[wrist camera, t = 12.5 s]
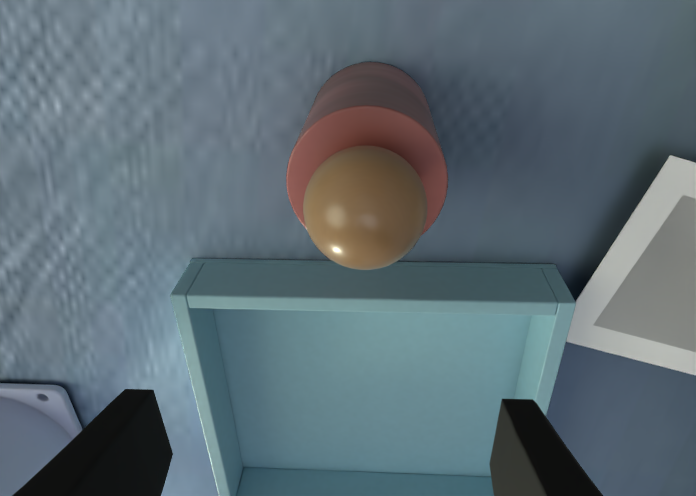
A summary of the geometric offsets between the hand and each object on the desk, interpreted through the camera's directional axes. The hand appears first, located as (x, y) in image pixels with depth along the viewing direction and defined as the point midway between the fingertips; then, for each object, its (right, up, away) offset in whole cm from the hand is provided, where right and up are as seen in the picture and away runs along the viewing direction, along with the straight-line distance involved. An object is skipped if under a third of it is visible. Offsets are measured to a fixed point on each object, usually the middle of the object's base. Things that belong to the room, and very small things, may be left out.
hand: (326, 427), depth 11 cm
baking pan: (+1, -2, +12) cm, 13 cm away
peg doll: (+1, +8, +6) cm, 10 cm away
